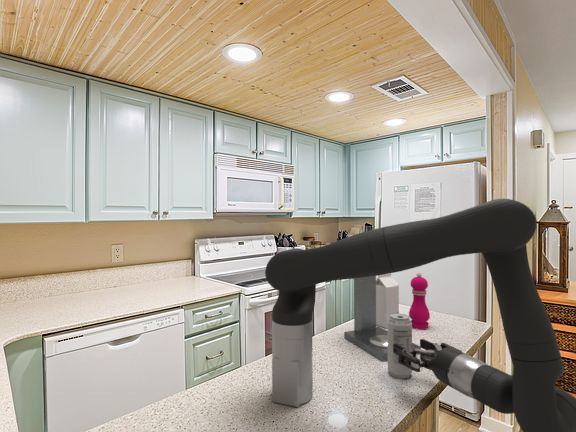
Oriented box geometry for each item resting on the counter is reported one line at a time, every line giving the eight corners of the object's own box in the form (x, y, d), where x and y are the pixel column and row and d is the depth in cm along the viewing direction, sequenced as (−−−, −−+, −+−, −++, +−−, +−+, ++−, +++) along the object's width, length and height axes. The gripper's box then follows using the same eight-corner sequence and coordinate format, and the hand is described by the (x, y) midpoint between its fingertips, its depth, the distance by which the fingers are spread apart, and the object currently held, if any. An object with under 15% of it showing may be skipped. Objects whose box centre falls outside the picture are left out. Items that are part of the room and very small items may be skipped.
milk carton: (399, 325, 127) (398, 274, 127) (386, 328, 123) (386, 276, 123) (383, 320, 133) (383, 272, 133) (371, 323, 129) (371, 273, 129)
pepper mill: (433, 330, 121) (433, 274, 121) (412, 330, 121) (412, 274, 121) (425, 323, 128) (425, 271, 129) (406, 323, 129) (406, 271, 129)
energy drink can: (407, 368, 90) (407, 312, 91) (415, 379, 84) (415, 319, 85) (384, 368, 91) (384, 312, 91) (391, 379, 85) (391, 319, 85)
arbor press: (441, 349, 104) (440, 238, 104) (382, 361, 95) (382, 240, 95) (396, 329, 122) (396, 235, 122) (344, 337, 114) (343, 236, 114)
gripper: (487, 349, 73) (429, 326, 88) (437, 360, 67) (384, 334, 82) (487, 384, 73) (429, 355, 88) (437, 398, 67) (384, 364, 82)
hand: (407, 345), depth 85 cm, fingers open, 8 cm apart
